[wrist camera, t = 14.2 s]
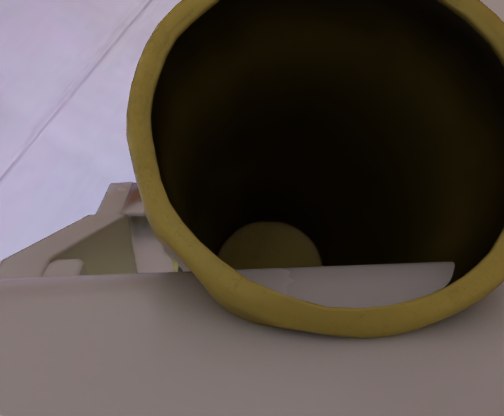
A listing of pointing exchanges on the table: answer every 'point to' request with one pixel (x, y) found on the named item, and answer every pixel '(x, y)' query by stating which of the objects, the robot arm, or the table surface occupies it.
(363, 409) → the robot arm
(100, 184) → the table surface
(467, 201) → the vase
